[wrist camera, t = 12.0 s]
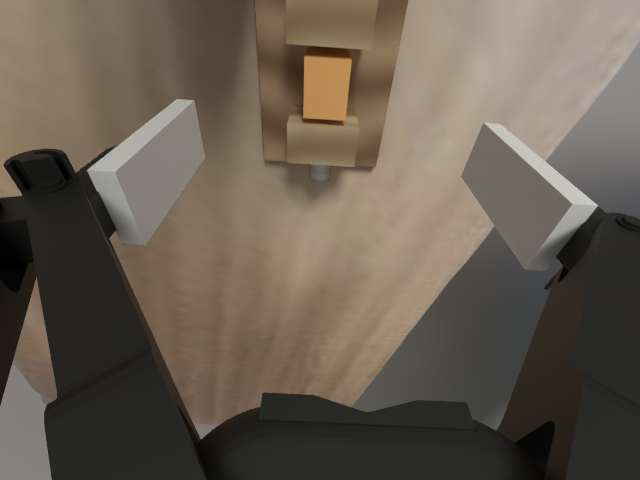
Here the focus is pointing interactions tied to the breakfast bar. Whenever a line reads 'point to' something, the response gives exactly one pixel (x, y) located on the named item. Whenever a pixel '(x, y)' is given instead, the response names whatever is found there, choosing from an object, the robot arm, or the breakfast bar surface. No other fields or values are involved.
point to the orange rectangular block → (326, 83)
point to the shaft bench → (288, 78)
